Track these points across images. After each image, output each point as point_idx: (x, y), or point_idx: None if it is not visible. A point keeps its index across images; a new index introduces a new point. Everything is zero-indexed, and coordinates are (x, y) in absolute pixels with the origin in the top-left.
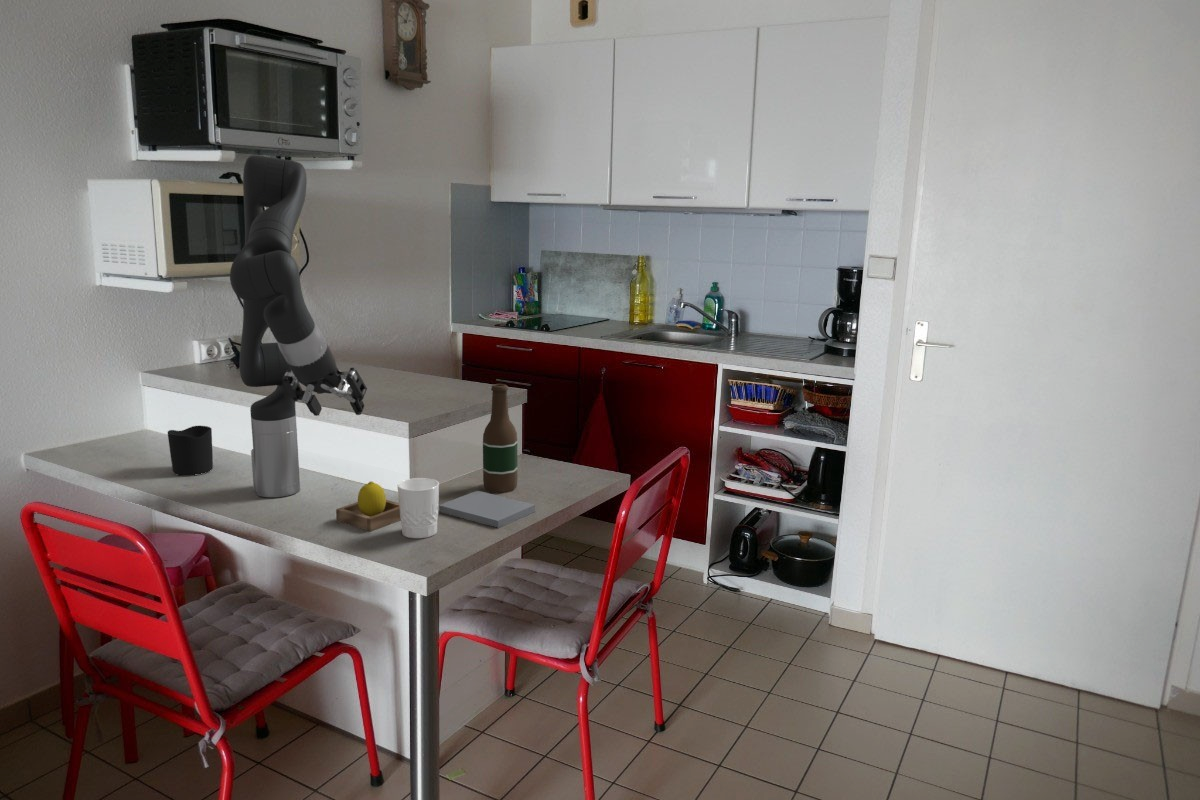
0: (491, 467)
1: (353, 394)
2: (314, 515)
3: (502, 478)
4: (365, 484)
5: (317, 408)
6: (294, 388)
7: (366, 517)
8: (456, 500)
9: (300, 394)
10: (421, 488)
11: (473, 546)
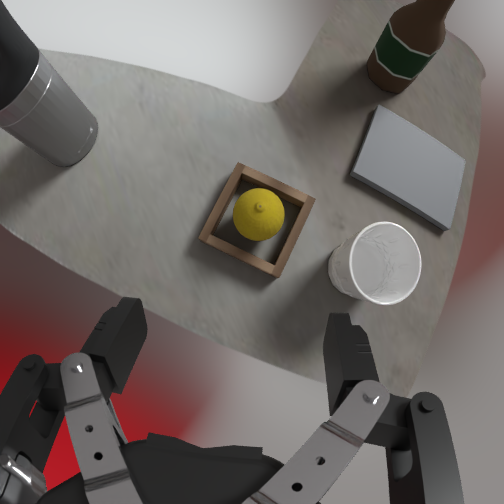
0: (399, 71)
1: (369, 440)
2: (155, 222)
3: (408, 83)
4: (247, 207)
5: (135, 335)
6: (42, 449)
7: (268, 270)
8: (369, 147)
9: (63, 404)
10: (372, 230)
11: (433, 304)
